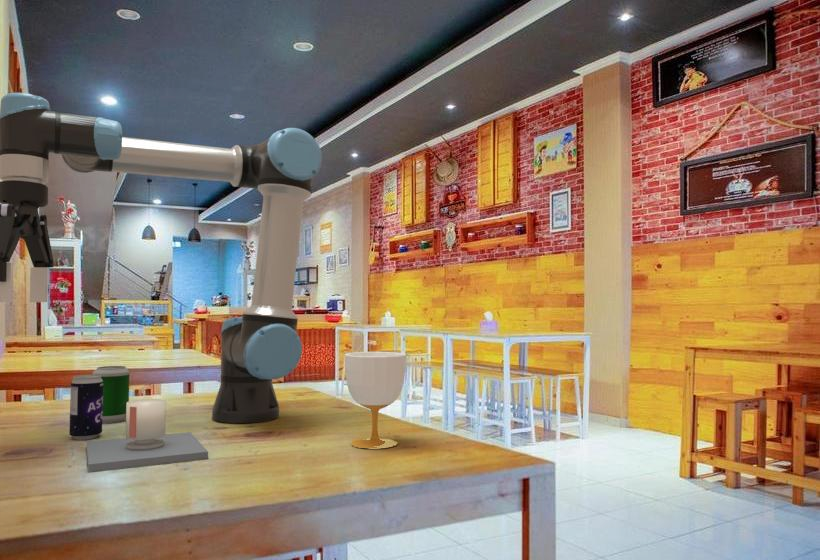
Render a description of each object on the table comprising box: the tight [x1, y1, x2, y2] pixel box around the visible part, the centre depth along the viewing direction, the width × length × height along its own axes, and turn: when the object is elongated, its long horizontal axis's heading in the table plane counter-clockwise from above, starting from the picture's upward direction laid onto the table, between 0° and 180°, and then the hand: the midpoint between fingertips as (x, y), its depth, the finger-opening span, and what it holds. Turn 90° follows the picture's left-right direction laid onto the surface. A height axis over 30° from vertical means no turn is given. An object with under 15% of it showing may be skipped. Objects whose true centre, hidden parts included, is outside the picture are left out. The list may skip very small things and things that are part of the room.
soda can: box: [92, 365, 131, 424], centre depth 137 cm, size 8×8×12 cm
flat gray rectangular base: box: [86, 431, 209, 473], centre depth 107 cm, size 18×18×3 cm
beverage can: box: [68, 374, 103, 441], centre depth 119 cm, size 6×6×12 cm
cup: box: [344, 351, 407, 449], centre depth 115 cm, size 12×12×17 cm
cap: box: [125, 398, 167, 440], centre depth 107 cm, size 6×6×6 cm
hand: (21, 302), depth 107 cm, fingers open, 13 cm apart
